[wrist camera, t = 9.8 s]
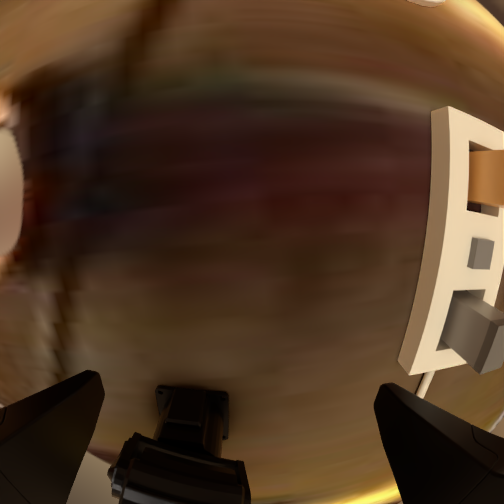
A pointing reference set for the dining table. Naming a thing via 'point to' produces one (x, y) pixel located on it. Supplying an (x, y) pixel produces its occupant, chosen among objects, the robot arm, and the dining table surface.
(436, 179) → the power strip
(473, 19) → the dining table surface
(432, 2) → the decorative container
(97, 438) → the dining table surface
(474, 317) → the twin plug
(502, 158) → the plug
